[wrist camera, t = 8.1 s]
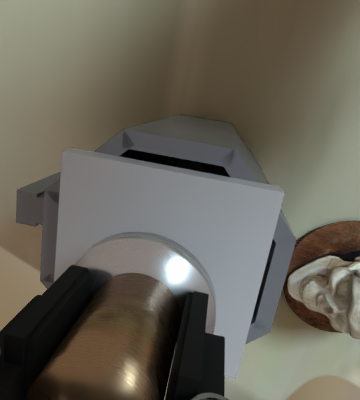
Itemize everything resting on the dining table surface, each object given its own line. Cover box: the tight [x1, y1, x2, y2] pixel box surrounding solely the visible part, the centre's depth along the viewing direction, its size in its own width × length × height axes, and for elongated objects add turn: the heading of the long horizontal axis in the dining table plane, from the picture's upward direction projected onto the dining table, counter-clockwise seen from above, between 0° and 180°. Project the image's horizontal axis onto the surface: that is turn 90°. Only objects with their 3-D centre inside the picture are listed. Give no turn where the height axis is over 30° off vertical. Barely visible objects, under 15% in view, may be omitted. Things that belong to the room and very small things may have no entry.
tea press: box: [16, 114, 296, 379], centre depth 24 cm, size 15×12×19 cm
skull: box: [283, 221, 360, 339], centre depth 33 cm, size 12×10×10 cm
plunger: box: [25, 154, 230, 400], centre depth 19 cm, size 8×8×23 cm
